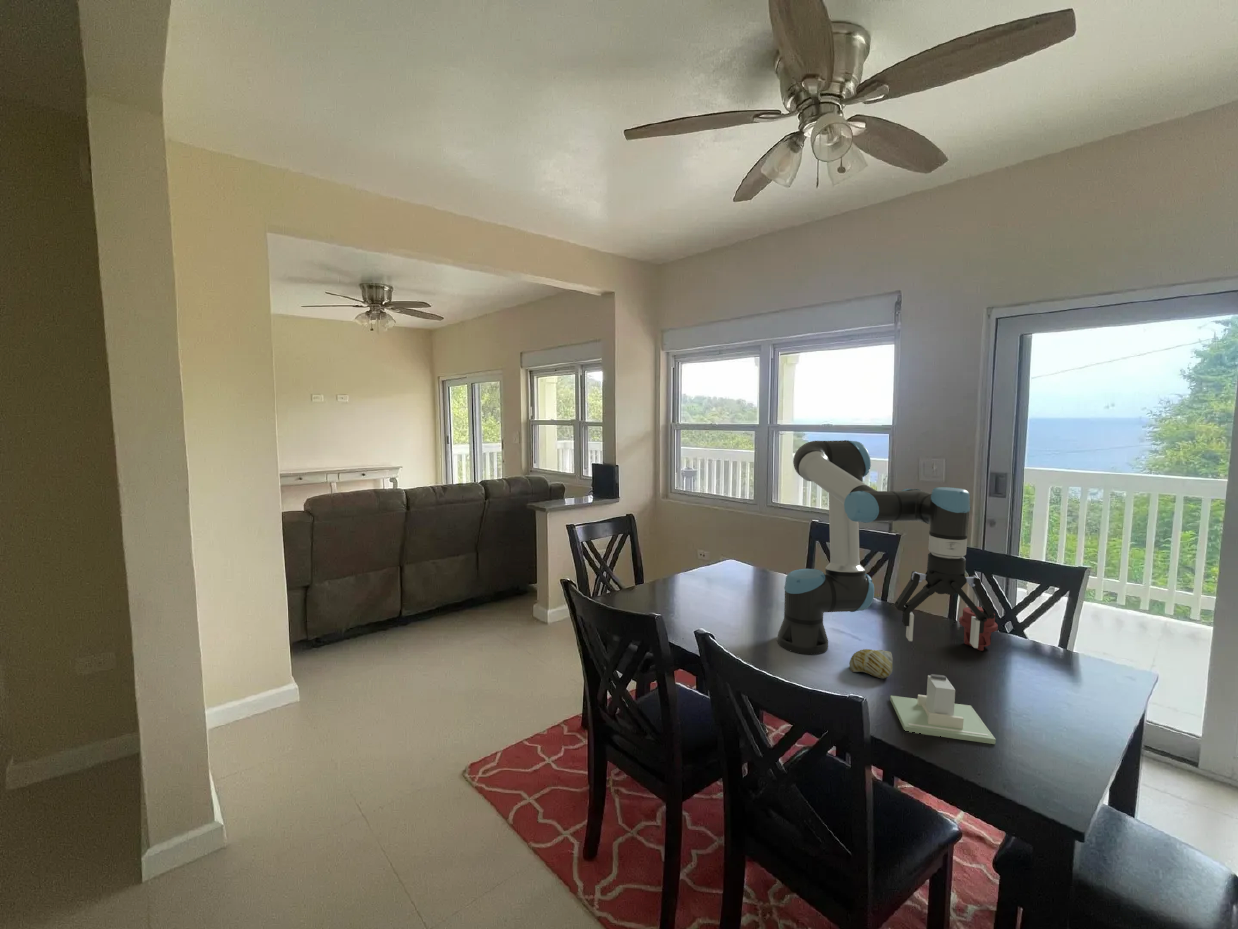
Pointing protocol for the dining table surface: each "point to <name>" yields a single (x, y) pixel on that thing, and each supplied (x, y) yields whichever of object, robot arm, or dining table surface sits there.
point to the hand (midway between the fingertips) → (940, 642)
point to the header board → (941, 720)
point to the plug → (940, 695)
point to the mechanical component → (983, 637)
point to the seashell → (872, 662)
